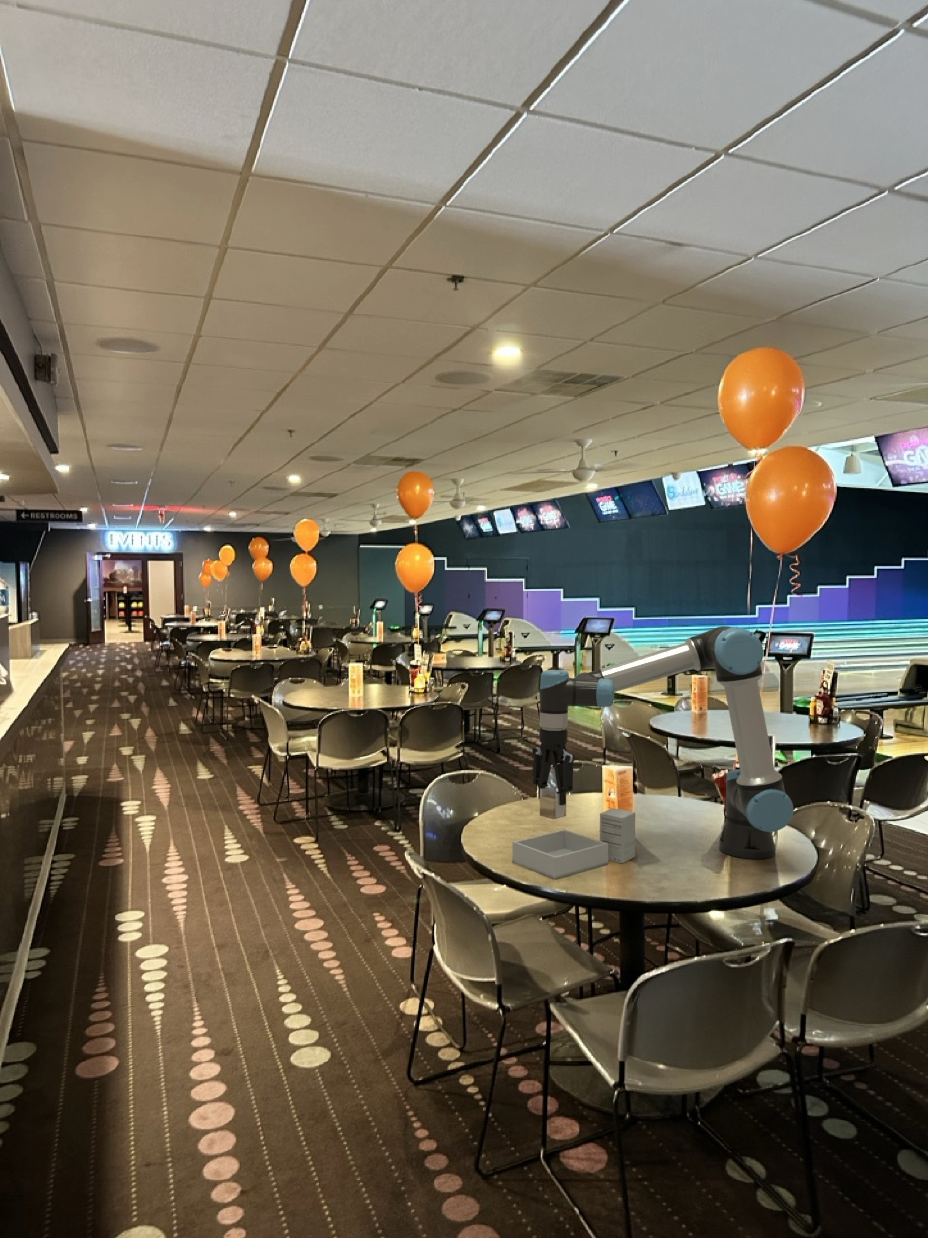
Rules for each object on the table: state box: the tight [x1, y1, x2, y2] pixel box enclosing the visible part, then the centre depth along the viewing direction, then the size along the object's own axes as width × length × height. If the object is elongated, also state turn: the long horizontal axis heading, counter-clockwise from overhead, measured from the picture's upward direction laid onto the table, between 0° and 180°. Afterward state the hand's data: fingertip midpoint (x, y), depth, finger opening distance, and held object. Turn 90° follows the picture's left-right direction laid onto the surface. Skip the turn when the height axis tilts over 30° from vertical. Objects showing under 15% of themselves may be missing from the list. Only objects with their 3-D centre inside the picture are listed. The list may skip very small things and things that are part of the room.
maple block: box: [539, 793, 567, 820], centre depth 222 cm, size 5×5×5 cm
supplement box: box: [599, 807, 636, 864], centre depth 228 cm, size 7×7×13 cm
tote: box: [511, 829, 609, 880], centre depth 223 cm, size 17×20×6 cm
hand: (551, 814), depth 222 cm, fingers closed on maple block, 5 cm apart
